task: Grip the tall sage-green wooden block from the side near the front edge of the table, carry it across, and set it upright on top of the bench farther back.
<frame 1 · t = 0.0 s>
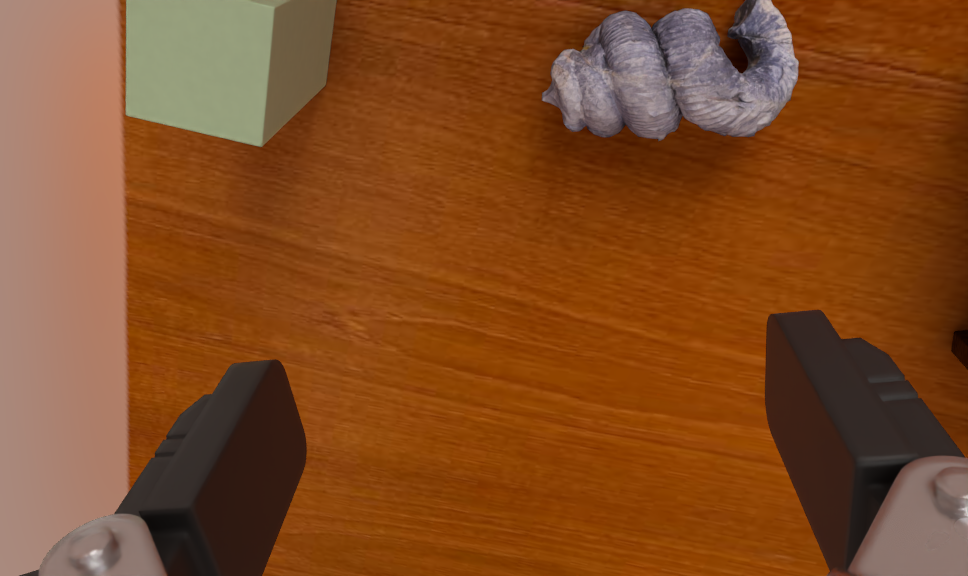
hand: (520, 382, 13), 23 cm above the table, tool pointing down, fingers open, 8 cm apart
seashell: (658, 64, 33), on the table
block: (279, 19, 33), on the table
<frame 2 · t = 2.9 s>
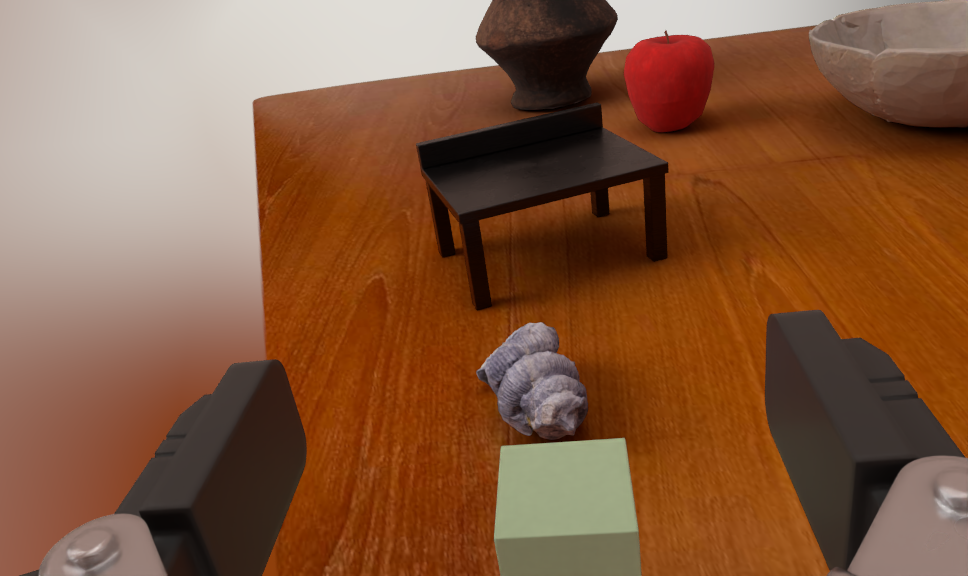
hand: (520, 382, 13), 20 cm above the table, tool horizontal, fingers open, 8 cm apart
seashell: (540, 414, 45), on the table
bowl: (943, 119, 79), on the table
apple: (670, 129, 88), on the table
bench: (547, 255, 63), on the table
jug: (557, 100, 106), on the table
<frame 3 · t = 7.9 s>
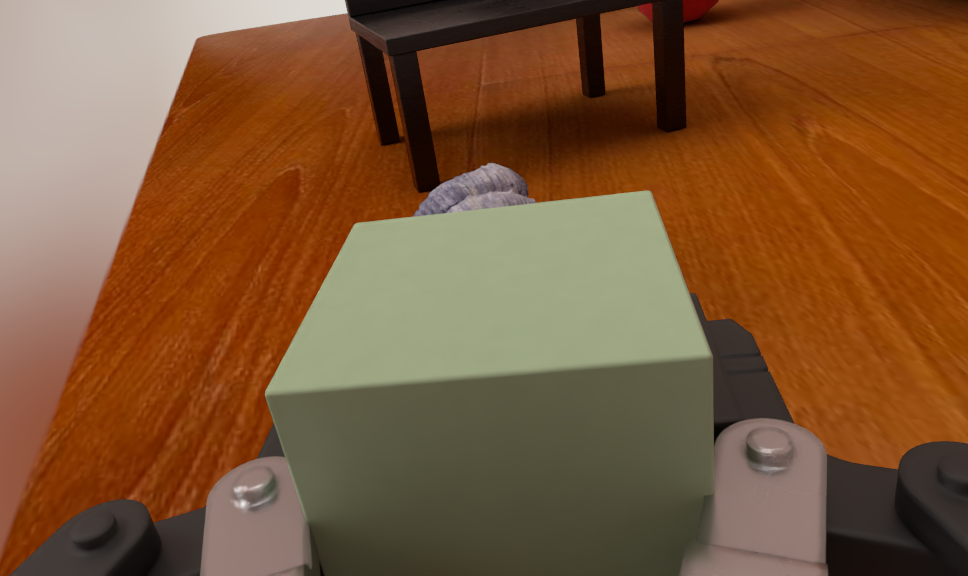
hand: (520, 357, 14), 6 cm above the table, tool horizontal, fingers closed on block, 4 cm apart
seashell: (498, 305, 28), on the table
apple: (678, 24, 72), on the table
bench: (521, 134, 47), on the table
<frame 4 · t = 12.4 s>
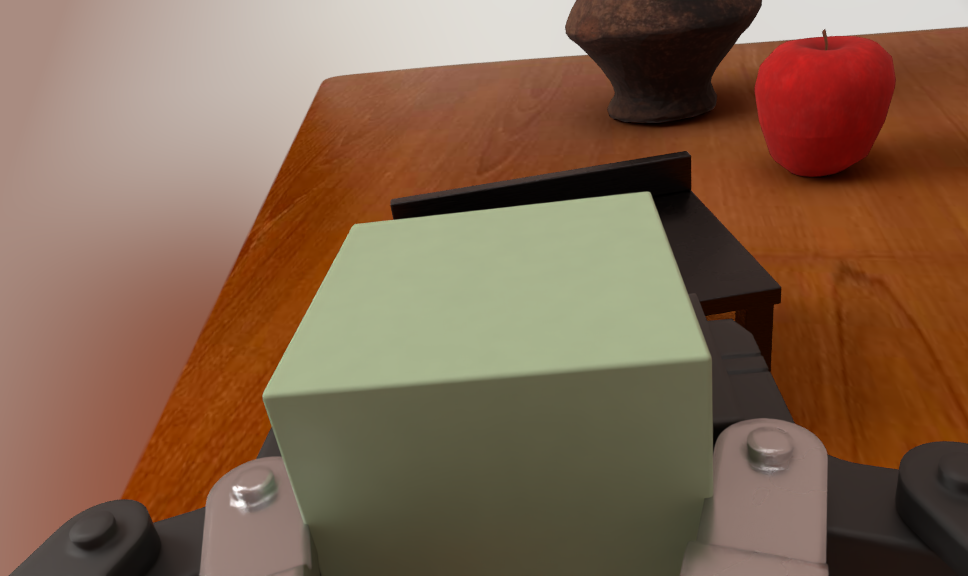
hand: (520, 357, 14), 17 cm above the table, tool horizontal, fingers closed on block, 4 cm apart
apple: (816, 172, 61), on the table
bench: (576, 388, 40), on the table
jug: (669, 110, 81), on the table
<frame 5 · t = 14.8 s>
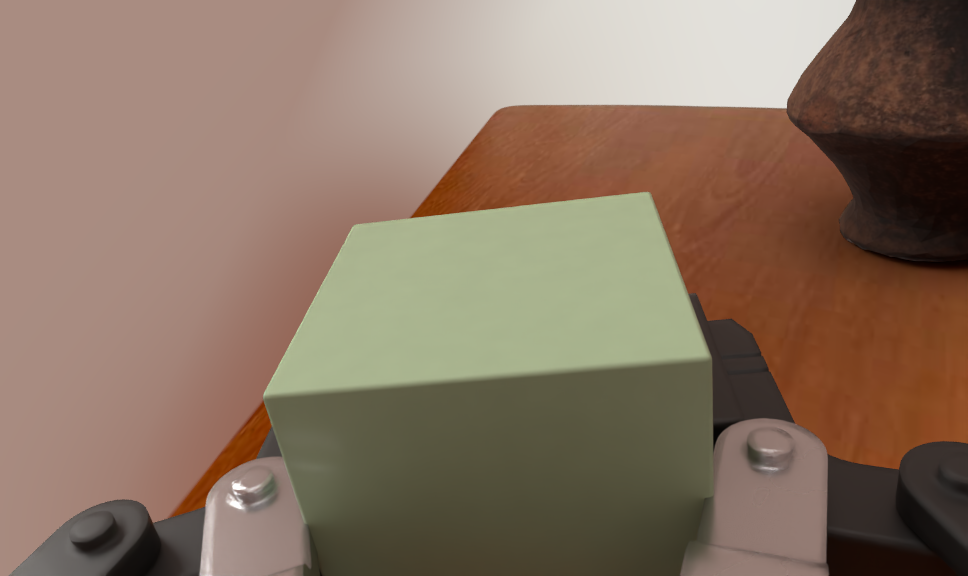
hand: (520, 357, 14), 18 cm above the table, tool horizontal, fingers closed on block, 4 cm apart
jug: (940, 232, 53), on the table
when the fingers open (14 cm above the table, at t = 16.8 s): block stays where it is, resting on bench.
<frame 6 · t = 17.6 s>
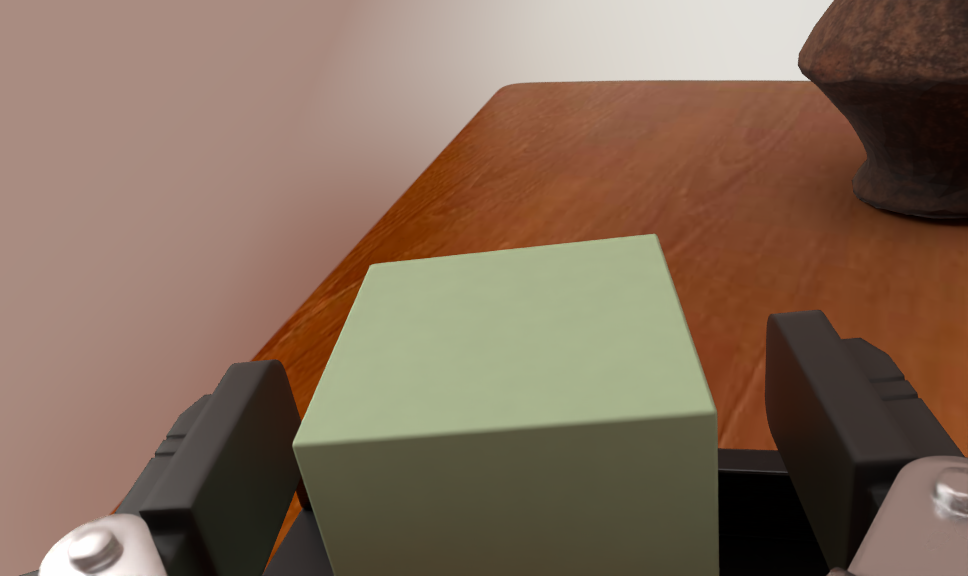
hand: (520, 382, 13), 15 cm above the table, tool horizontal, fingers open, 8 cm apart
jug: (958, 192, 51), on the table
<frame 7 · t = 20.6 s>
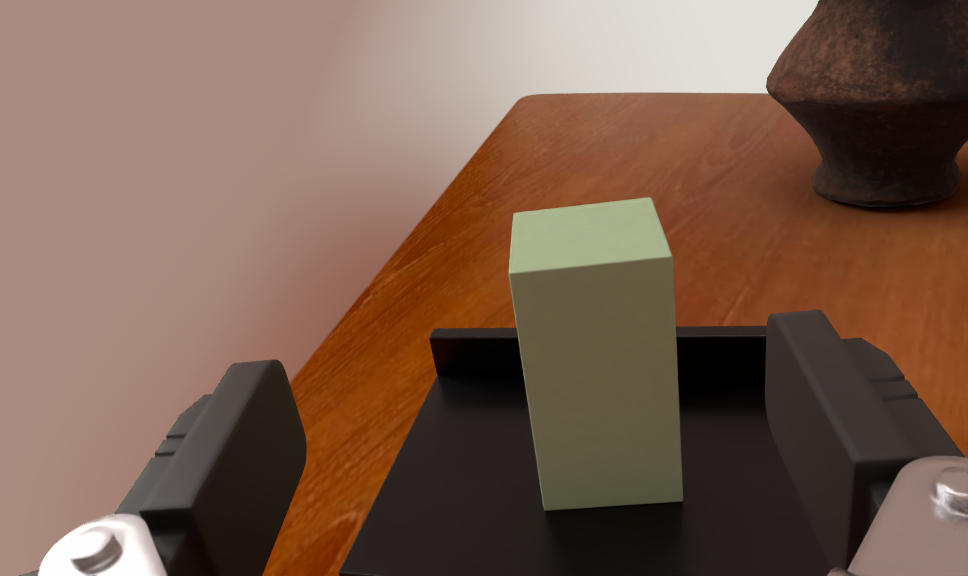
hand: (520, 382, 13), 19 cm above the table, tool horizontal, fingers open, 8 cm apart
block: (607, 461, 28), point 8 cm above the table, touching bench
jug: (894, 187, 64), on the table
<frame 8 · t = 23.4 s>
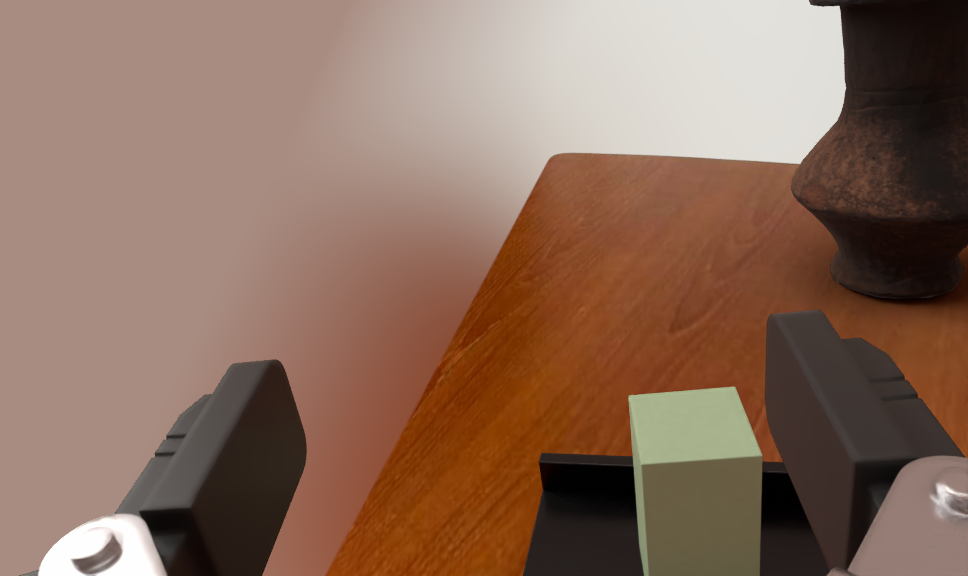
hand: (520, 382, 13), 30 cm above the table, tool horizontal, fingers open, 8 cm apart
jug: (903, 275, 73), on the table
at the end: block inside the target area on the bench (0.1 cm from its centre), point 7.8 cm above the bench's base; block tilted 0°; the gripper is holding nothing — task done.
